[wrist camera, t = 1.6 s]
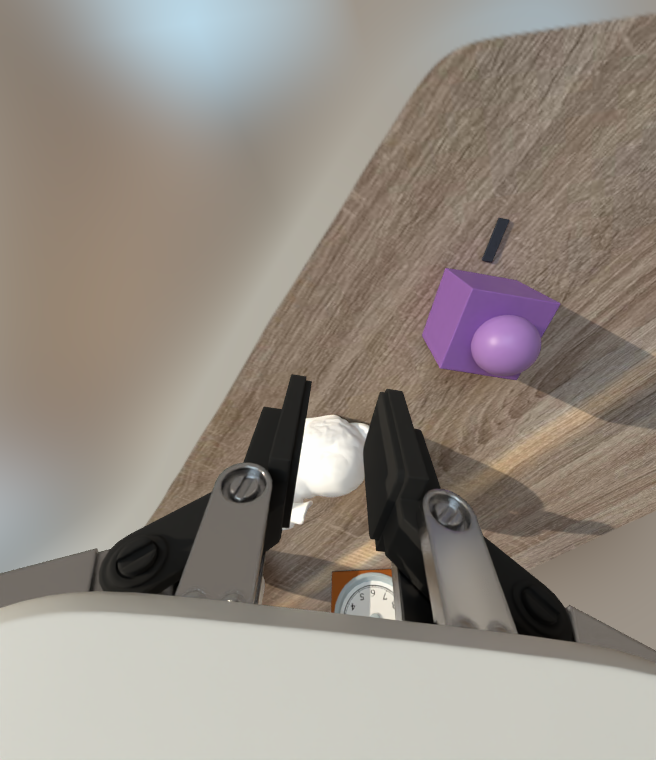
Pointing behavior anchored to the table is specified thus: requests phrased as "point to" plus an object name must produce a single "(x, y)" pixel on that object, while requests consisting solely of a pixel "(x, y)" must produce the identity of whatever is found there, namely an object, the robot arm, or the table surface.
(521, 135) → the table surface
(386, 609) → the alarm clock
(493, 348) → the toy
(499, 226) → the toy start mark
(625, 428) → the table surface
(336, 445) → the rabbit
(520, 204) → the table surface
